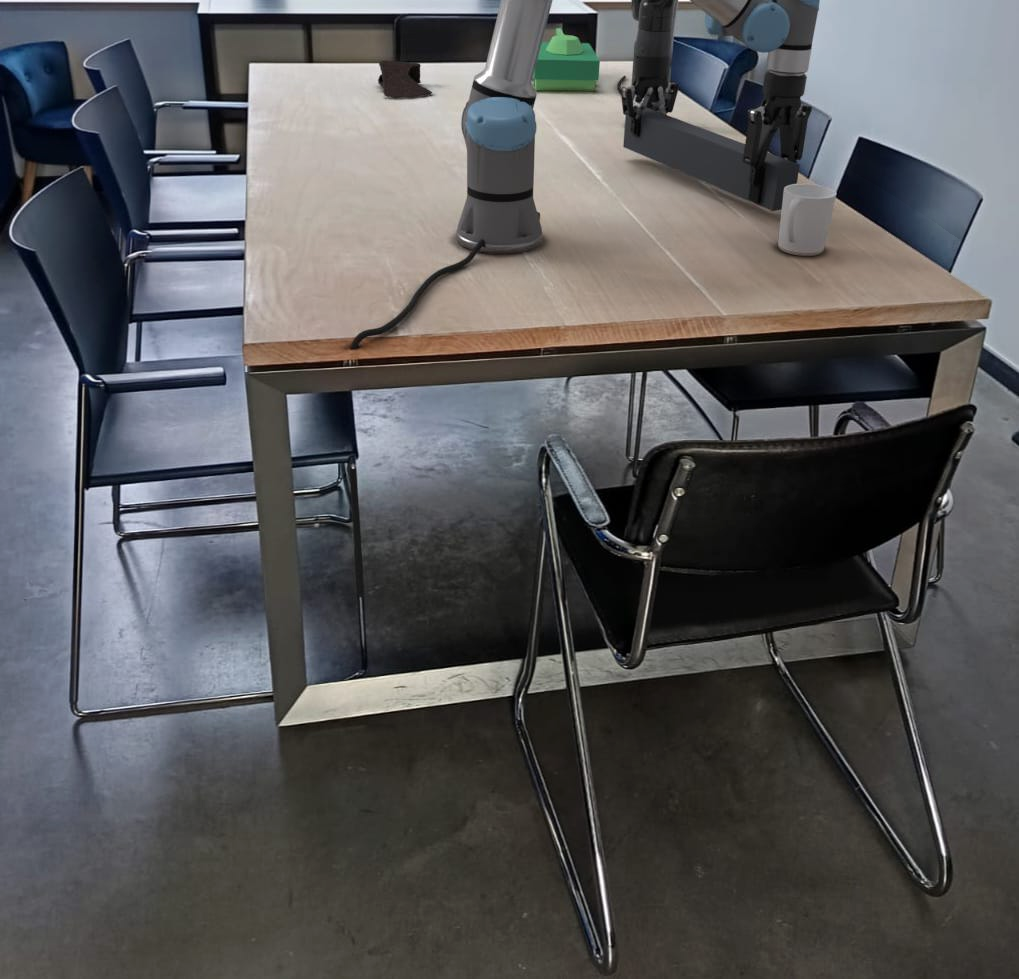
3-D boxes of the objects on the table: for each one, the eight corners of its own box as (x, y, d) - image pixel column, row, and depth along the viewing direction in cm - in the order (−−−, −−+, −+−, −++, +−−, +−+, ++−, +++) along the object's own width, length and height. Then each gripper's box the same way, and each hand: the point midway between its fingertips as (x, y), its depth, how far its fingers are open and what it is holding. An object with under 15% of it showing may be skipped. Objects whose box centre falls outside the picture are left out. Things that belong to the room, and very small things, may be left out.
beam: (793, 207, 208) (799, 164, 203) (772, 211, 205) (779, 167, 201) (641, 144, 245) (644, 106, 241) (623, 147, 243) (625, 108, 238)
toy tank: (587, 25, 326) (600, 46, 296) (584, 68, 332) (597, 93, 303) (528, 24, 325) (535, 44, 295) (526, 67, 331) (534, 92, 302)
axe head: (443, 87, 294) (392, 77, 287) (436, 115, 299) (385, 106, 292) (421, 62, 307) (371, 52, 300) (414, 89, 311) (365, 80, 304)
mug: (789, 236, 200) (798, 180, 195) (834, 247, 195) (845, 190, 190) (760, 251, 193) (769, 193, 188) (807, 263, 188) (817, 204, 183)
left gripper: (810, 65, 204) (789, 189, 216) (733, 71, 197) (716, 199, 209) (838, 72, 199) (815, 199, 211) (760, 79, 191) (741, 210, 203)
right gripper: (670, 46, 235) (663, 127, 244) (614, 51, 229) (609, 134, 238) (691, 52, 230) (683, 135, 239) (634, 57, 224) (628, 142, 233)
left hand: (766, 199), depth 210 cm, fingers closed on beam, 5 cm apart
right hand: (646, 134), depth 238 cm, fingers closed on beam, 5 cm apart
